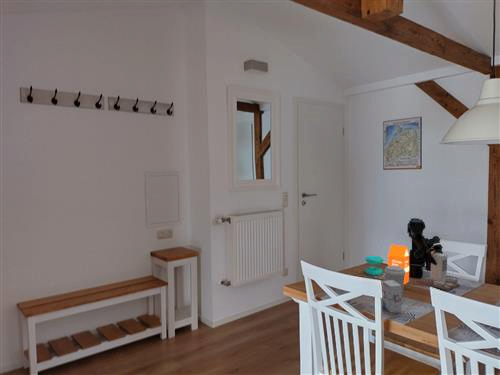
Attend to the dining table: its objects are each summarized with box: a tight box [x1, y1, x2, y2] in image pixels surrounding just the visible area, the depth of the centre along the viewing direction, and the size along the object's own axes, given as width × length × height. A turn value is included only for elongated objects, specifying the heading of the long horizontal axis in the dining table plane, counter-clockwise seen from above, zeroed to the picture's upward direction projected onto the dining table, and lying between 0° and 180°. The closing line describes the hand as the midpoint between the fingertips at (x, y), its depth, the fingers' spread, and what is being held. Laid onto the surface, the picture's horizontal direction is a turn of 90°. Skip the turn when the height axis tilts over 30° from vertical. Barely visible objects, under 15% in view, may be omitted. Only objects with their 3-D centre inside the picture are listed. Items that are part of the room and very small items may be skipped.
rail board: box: [431, 276, 460, 292], centre depth 193 cm, size 14×7×4 cm, turn 125°
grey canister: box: [383, 265, 406, 302], centre depth 175 cm, size 10×10×15 cm
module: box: [429, 252, 448, 282], centre depth 195 cm, size 6×4×13 cm
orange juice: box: [387, 244, 410, 285], centre depth 204 cm, size 8×9×20 cm
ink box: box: [382, 280, 402, 314], centre depth 162 cm, size 9×5×12 cm, turn 5°
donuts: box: [364, 255, 384, 277], centre depth 219 cm, size 10×10×10 cm
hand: (439, 264), depth 195 cm, fingers closed on module, 4 cm apart
